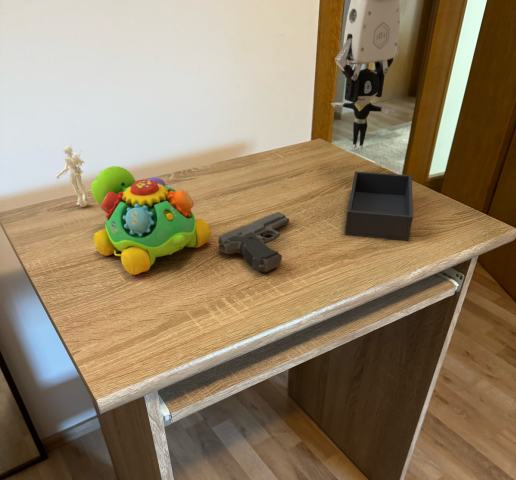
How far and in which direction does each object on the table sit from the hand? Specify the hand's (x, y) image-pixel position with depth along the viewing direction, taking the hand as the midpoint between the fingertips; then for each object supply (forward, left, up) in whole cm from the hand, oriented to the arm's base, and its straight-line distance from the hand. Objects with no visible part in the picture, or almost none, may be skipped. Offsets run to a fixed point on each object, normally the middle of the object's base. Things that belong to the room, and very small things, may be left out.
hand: (363, 97), depth 97 cm
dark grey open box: (-6, +18, -16) cm, 25 cm away
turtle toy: (+34, +37, -16) cm, 53 cm away
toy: (0, 0, -10) cm, 10 cm away
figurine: (+53, +26, -16) cm, 61 cm away
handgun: (+12, +34, -16) cm, 40 cm away
